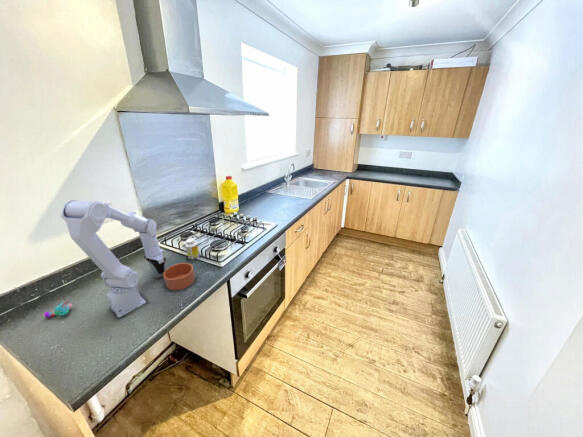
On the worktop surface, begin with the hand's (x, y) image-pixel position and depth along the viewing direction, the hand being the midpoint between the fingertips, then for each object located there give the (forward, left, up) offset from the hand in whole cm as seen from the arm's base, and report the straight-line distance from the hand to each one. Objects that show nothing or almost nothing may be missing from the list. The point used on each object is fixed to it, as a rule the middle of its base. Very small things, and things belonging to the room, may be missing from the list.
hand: (158, 270), depth 105 cm
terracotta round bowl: (+4, -12, -3) cm, 13 cm away
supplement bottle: (+18, +2, -3) cm, 18 cm away
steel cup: (0, 0, -2) cm, 2 cm away
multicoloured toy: (+4, -29, -2) cm, 29 cm away
